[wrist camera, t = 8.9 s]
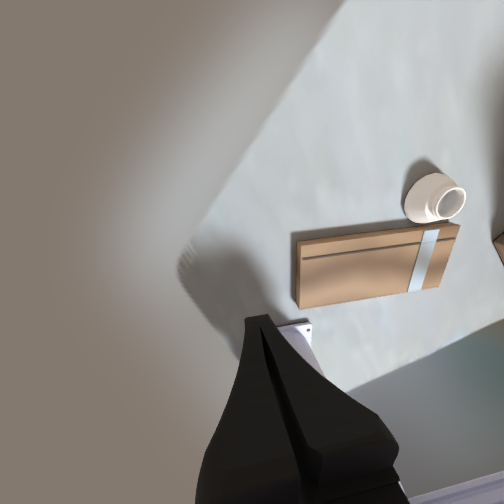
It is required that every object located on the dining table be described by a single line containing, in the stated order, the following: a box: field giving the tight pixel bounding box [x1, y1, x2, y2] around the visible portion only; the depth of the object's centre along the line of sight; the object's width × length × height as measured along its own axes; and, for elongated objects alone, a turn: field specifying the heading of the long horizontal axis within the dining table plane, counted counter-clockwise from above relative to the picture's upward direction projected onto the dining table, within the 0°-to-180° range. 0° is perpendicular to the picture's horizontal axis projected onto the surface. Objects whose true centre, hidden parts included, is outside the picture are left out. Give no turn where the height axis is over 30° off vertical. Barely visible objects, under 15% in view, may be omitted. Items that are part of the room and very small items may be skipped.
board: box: [296, 222, 460, 310], centre depth 24 cm, size 8×18×1 cm, turn 94°
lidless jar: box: [404, 173, 466, 223], centre depth 21 cm, size 5×3×5 cm
